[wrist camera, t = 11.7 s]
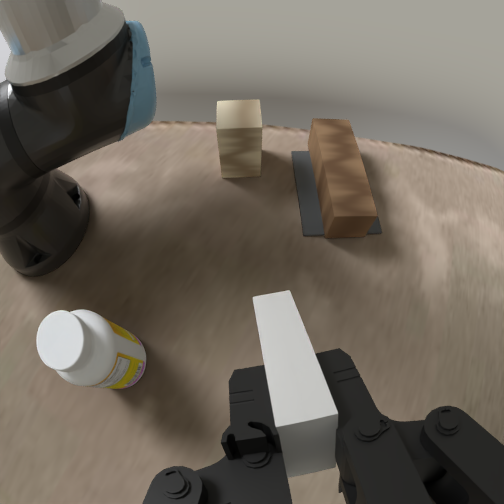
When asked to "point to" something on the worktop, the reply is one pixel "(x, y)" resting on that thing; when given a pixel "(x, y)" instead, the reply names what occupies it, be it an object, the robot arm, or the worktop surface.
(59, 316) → the supplement bottle
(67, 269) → the worktop surface
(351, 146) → the walnut block
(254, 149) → the birch block
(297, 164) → the mat
